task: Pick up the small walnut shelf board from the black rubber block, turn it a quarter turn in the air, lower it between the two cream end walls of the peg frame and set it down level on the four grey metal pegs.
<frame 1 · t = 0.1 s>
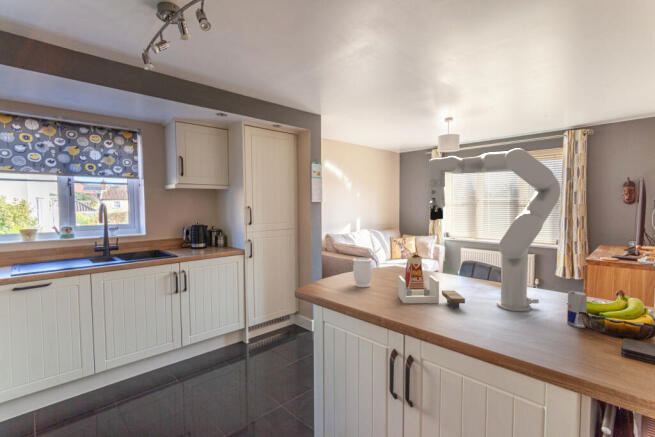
hand: (436, 219, 150), 37 cm above the worktop, tool pointing down, fingers open, 9 cm apart
peg frame: (417, 299, 145), on the worktop
rubber block: (452, 305, 136), on the worktop
board: (452, 298, 136), point 3 cm above the worktop, touching rubber block
jar: (362, 286, 171), on the worktop
energy drink: (576, 325, 113), on the worktop
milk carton: (414, 288, 164), on the worktop
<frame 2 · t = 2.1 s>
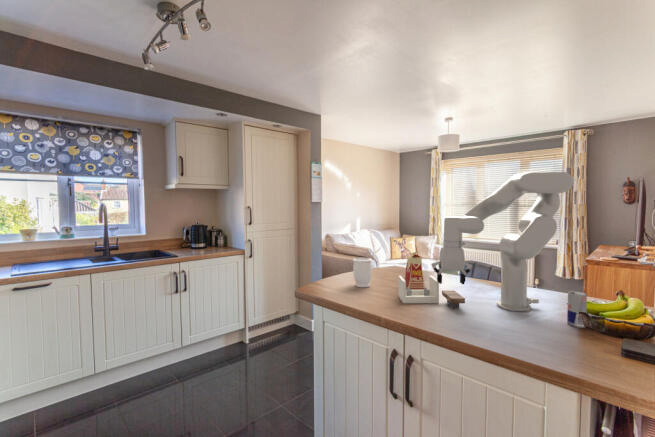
hand: (450, 283, 135), 10 cm above the worktop, tool pointing down, fingers open, 9 cm apart
nothing on the worktop moved.
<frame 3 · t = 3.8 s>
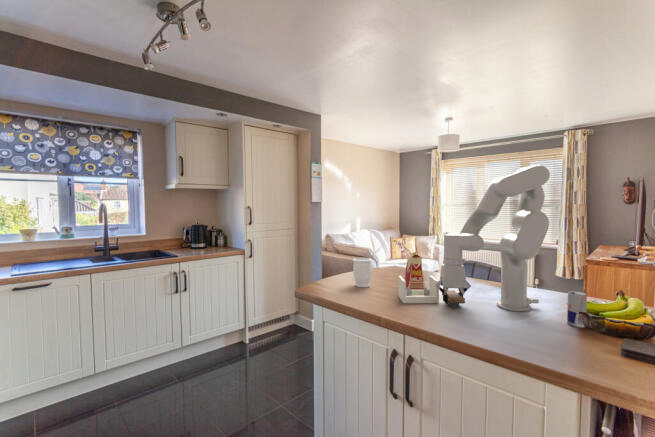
hand: (452, 302, 136), 2 cm above the worktop, tool pointing down, fingers closed on board, 5 cm apart
board: (452, 298, 136), point 3 cm above the worktop, touching gripper, rubber block
everything else where it was.
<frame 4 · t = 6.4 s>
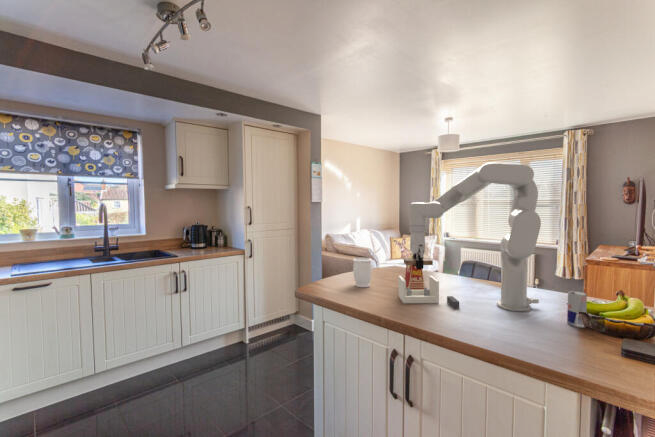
hand: (417, 267, 145), 15 cm above the worktop, tool pointing down, fingers closed on board, 5 cm apart
board: (417, 263, 144), point 17 cm above the worktop, touching gripper
everything else where it was.
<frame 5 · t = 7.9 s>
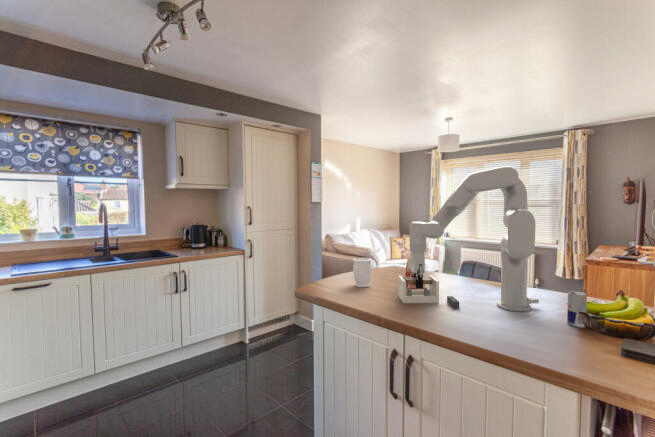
hand: (417, 286, 145), 6 cm above the worktop, tool pointing down, fingers closed on board, 5 cm apart
board: (417, 282, 145), point 8 cm above the worktop, touching gripper
everything else where it was.
when the fingers open (5 cm above the worktop, at t = 9.0 s): board drops 2 cm, resting on peg frame.
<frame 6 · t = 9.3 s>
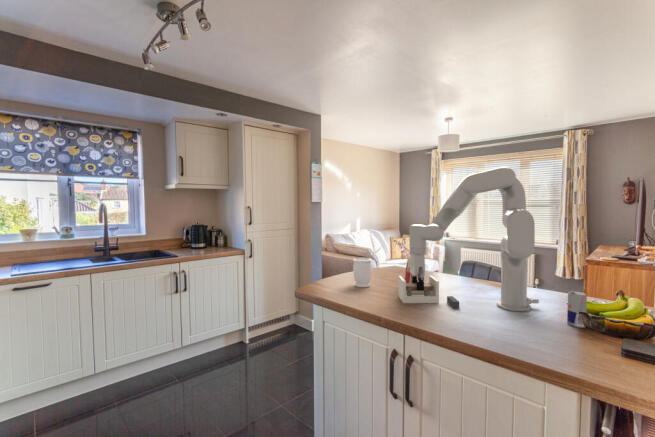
hand: (417, 287, 145), 6 cm above the worktop, tool pointing down, fingers open, 8 cm apart
board: (418, 288, 145), point 5 cm above the worktop, touching peg frame
everything else where it was.
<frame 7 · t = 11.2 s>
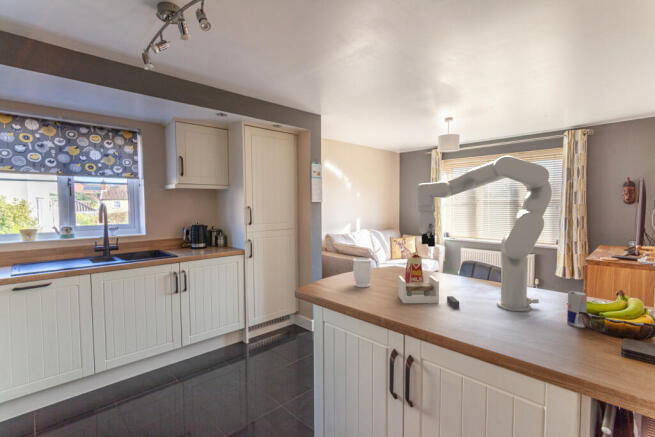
hand: (428, 245, 147), 25 cm above the worktop, tool pointing down, fingers open, 9 cm apart
nothing on the worktop moved.
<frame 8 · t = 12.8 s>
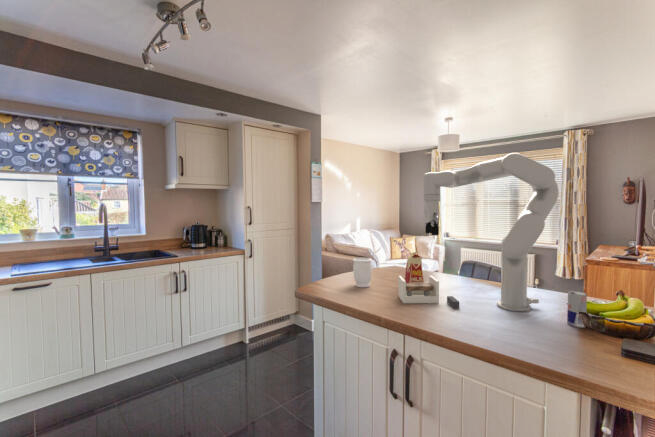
hand: (431, 234, 149), 30 cm above the worktop, tool pointing down, fingers open, 9 cm apart
nothing on the worktop moved.
at the end: board 0.1 cm off-centre on the peg frame, point 5.0 cm above the peg frame's base; board tilted 0°; the gripper is holding nothing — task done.
